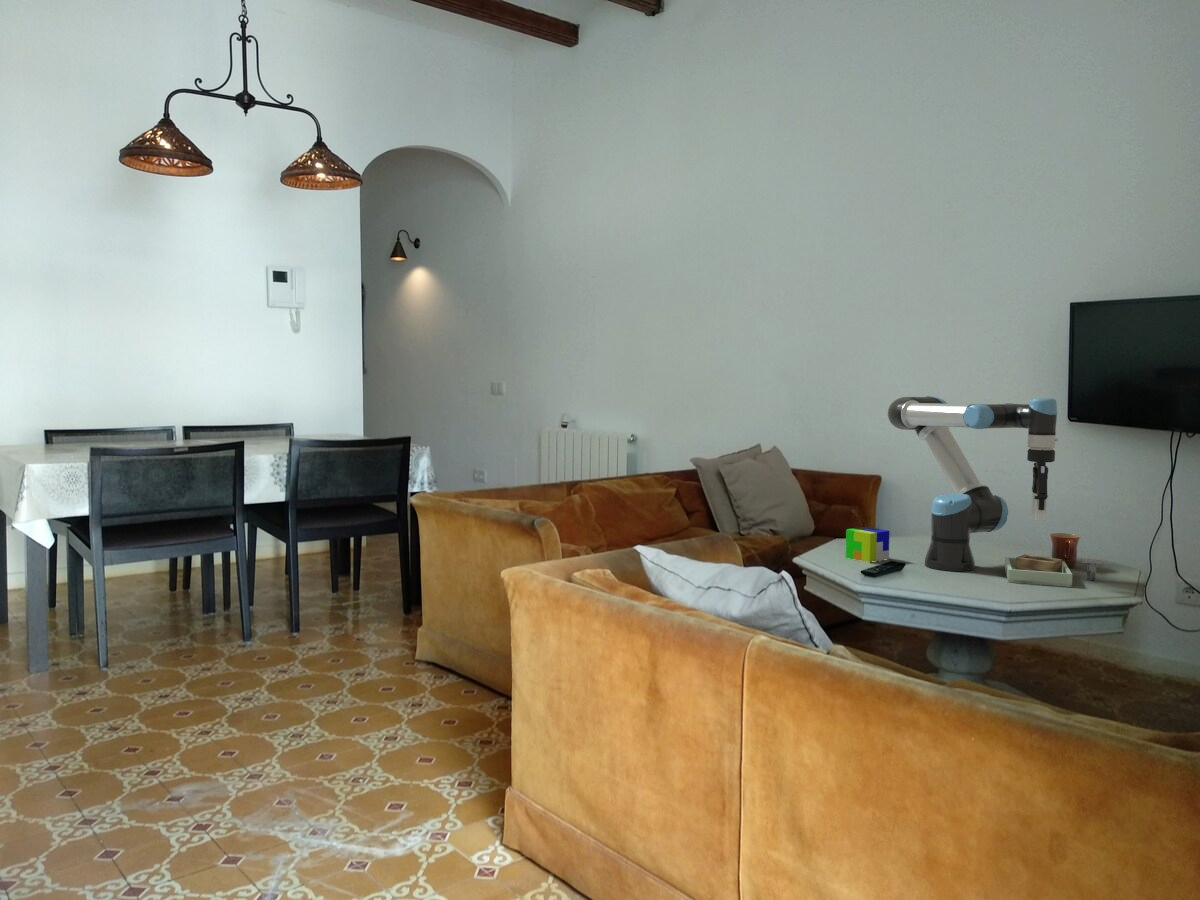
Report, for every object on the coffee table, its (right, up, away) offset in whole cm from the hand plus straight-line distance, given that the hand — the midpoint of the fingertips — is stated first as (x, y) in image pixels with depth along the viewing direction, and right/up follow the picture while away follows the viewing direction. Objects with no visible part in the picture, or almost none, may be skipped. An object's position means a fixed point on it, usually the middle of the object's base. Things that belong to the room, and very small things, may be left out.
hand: (1038, 517), depth 267 cm
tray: (0, -19, 0) cm, 19 cm away
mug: (+16, -18, +15) cm, 29 cm away
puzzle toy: (-44, -17, +29) cm, 55 cm away
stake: (+14, -19, -3) cm, 24 cm away
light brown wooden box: (0, -18, +1) cm, 18 cm away
